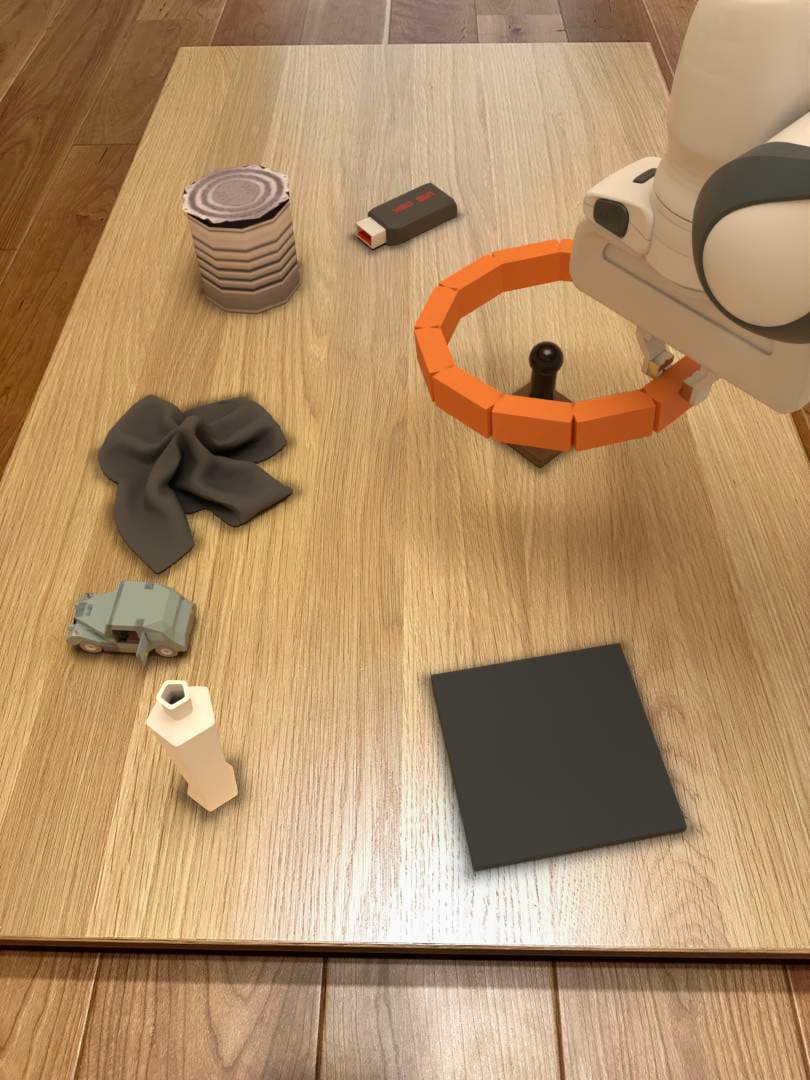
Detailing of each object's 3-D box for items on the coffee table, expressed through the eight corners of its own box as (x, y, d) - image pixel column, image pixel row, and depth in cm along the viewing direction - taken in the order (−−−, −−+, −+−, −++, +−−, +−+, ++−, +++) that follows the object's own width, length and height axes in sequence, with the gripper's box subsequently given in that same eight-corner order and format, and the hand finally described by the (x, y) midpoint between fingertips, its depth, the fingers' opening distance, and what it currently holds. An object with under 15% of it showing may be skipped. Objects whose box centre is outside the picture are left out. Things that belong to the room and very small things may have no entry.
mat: (618, 647, 82) (619, 642, 81) (685, 831, 72) (687, 827, 72) (430, 679, 80) (430, 674, 80) (473, 871, 71) (474, 867, 70)
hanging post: (480, 423, 98) (485, 344, 89) (535, 385, 101) (545, 304, 92) (539, 468, 94) (550, 389, 86) (594, 426, 97) (610, 346, 89)
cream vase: (229, 823, 73) (190, 735, 61) (176, 805, 74) (128, 715, 62) (254, 768, 76) (222, 674, 64) (203, 751, 77) (162, 655, 65)
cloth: (101, 404, 100) (85, 359, 95) (283, 384, 101) (275, 339, 96) (90, 582, 87) (70, 540, 82) (299, 556, 88) (291, 514, 83)
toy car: (86, 609, 85) (70, 577, 81) (199, 616, 84) (188, 584, 81) (65, 674, 81) (47, 644, 77) (184, 682, 81) (171, 651, 77)
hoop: (363, 359, 84) (358, 330, 82) (556, 240, 93) (557, 211, 91) (576, 496, 71) (577, 466, 68) (777, 341, 80) (783, 310, 78)
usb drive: (457, 216, 118) (458, 195, 116) (377, 254, 114) (376, 234, 112) (430, 196, 121) (430, 176, 119) (351, 233, 117) (350, 213, 114)
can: (205, 321, 108) (183, 228, 98) (198, 258, 114) (177, 165, 105) (308, 306, 109) (296, 212, 99) (295, 244, 115) (283, 151, 106)
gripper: (885, 280, 60) (816, 437, 71) (626, 148, 69) (600, 304, 80) (825, 328, 57) (763, 482, 68) (565, 184, 67) (547, 339, 78)
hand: (673, 385), depth 74 cm, fingers closed on hoop, 2 cm apart
